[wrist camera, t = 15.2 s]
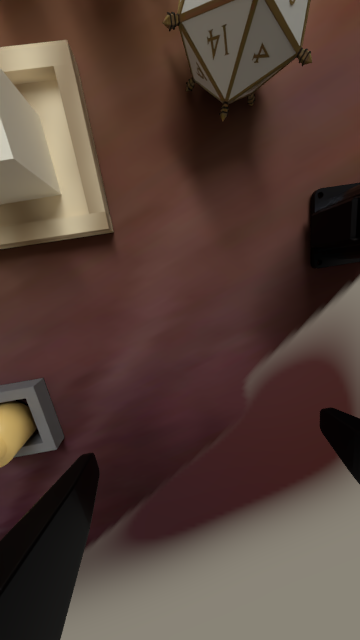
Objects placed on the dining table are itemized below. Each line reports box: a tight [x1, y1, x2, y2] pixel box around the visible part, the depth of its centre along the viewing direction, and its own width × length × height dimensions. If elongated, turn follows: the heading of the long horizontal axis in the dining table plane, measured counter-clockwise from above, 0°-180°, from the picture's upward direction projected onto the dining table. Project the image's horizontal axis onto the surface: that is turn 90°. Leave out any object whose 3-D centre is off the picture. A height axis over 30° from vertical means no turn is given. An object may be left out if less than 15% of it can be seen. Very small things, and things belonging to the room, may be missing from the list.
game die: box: [163, 0, 312, 122], centre depth 11 cm, size 9×8×10 cm
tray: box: [0, 40, 114, 249], centre depth 14 cm, size 11×11×2 cm
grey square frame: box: [0, 378, 64, 458], centre depth 19 cm, size 7×7×2 cm
